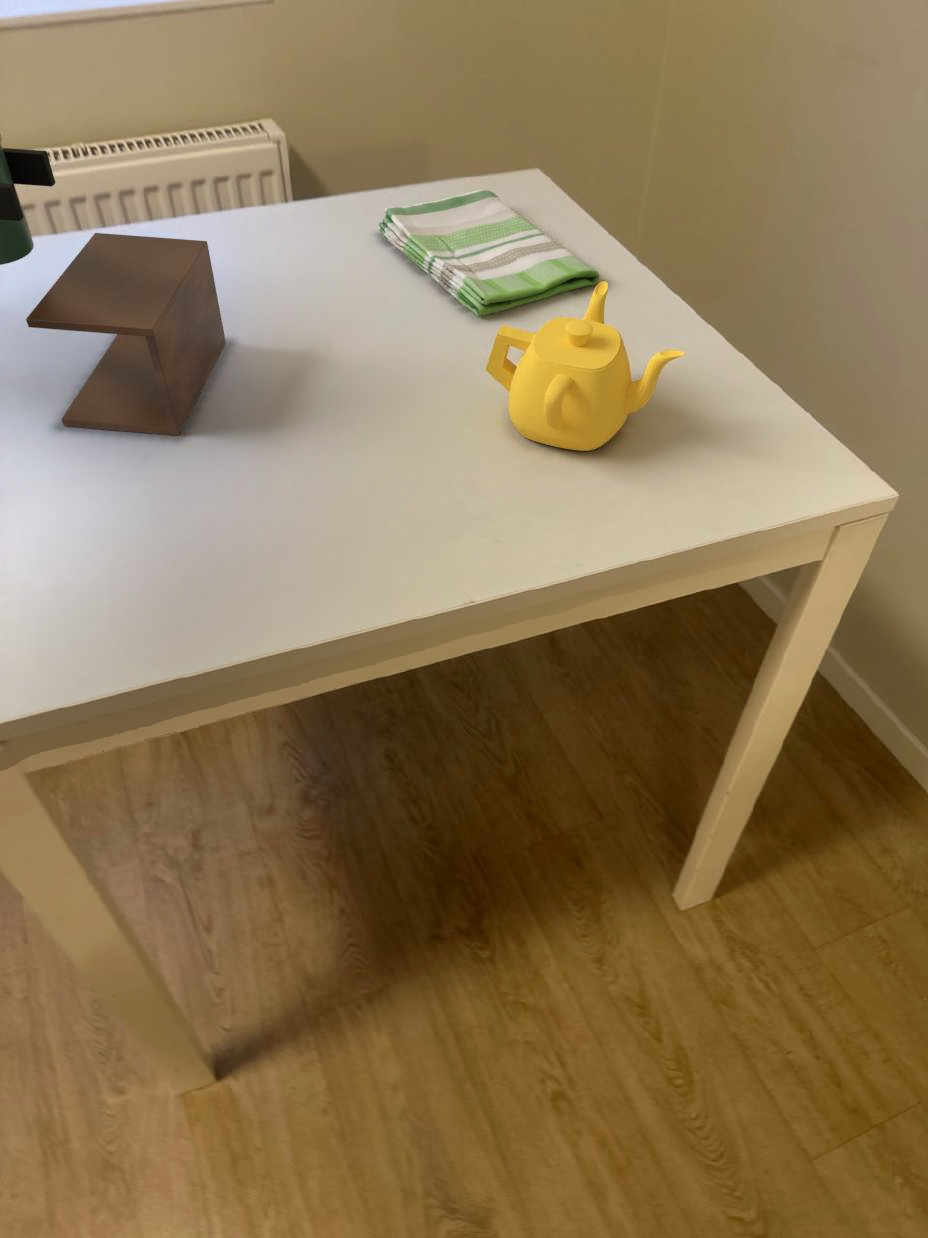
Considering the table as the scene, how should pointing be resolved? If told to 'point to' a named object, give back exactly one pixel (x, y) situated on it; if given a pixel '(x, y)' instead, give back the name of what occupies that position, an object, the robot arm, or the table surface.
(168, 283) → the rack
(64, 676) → the table surface
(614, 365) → the teapot
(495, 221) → the dish towel
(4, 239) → the tin
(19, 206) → the robot arm
